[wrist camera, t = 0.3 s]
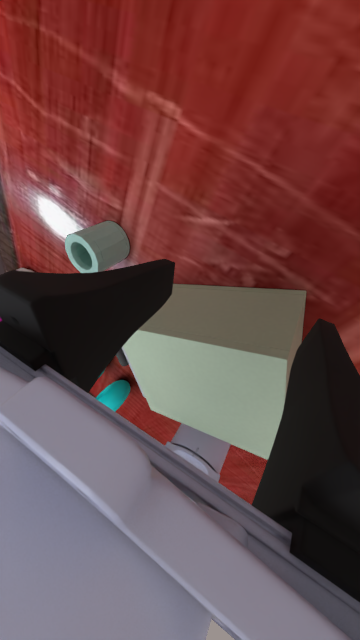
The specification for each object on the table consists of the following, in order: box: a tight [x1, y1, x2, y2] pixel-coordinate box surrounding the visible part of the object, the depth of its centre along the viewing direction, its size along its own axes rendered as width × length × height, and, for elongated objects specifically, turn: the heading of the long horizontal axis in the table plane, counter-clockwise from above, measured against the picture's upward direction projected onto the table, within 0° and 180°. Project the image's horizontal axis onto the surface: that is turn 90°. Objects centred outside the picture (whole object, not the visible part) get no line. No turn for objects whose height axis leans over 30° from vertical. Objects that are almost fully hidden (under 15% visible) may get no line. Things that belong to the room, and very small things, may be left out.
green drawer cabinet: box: [123, 284, 306, 460], centre depth 23 cm, size 15×13×9 cm
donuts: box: [95, 371, 130, 412], centre depth 45 cm, size 10×10×10 cm
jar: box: [65, 221, 130, 273], centre depth 25 cm, size 4×5×5 cm
